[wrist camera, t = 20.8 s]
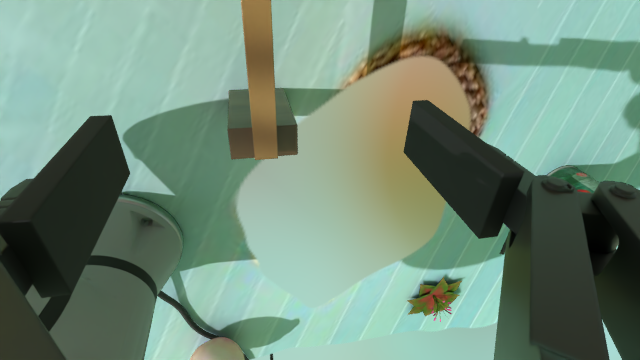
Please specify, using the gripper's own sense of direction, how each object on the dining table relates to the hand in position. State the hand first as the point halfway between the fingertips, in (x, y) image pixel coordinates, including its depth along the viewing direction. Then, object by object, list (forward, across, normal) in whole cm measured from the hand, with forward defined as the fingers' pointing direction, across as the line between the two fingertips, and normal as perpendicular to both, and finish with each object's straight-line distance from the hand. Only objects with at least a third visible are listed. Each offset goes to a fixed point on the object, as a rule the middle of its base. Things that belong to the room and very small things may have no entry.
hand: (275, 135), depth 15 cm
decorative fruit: (+24, +10, +50) cm, 56 cm away
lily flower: (+24, -31, +48) cm, 62 cm away
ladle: (+24, 0, -1) cm, 24 cm away
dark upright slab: (+24, 0, +7) cm, 25 cm away
